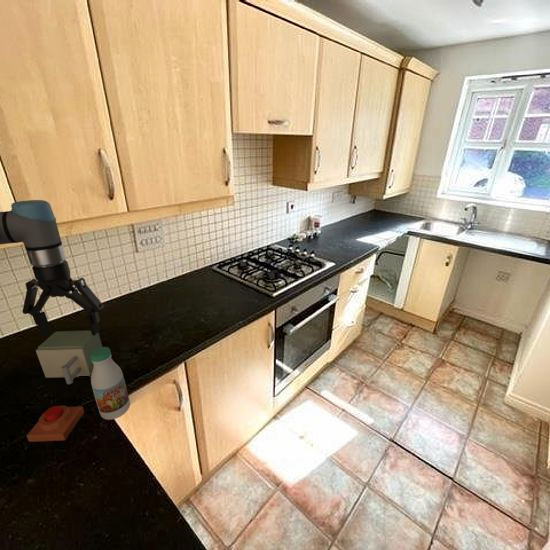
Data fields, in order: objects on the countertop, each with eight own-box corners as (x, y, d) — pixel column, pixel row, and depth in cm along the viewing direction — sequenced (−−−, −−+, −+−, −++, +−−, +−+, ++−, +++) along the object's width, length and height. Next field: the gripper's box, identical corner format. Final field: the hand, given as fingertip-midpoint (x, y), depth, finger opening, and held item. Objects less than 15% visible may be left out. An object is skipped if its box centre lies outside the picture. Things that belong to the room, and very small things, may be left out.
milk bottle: (94, 416, 84) (75, 356, 76) (116, 396, 90) (101, 340, 83) (114, 424, 81) (97, 363, 73) (136, 403, 88) (122, 346, 80)
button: (42, 422, 77) (40, 417, 77) (51, 411, 81) (49, 406, 80) (57, 421, 78) (55, 416, 77) (65, 410, 81) (63, 405, 80)
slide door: (31, 392, 91) (20, 363, 87) (47, 376, 97) (37, 349, 93) (78, 390, 91) (69, 362, 87) (91, 374, 98) (83, 347, 94)
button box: (28, 441, 76) (23, 430, 75) (51, 413, 85) (47, 402, 83) (65, 440, 77) (60, 428, 75) (84, 412, 85) (80, 401, 83)
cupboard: (48, 378, 98) (37, 347, 94) (65, 360, 106) (55, 331, 102) (92, 376, 99) (83, 345, 94) (105, 359, 107) (97, 330, 102)
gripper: (106, 256, 81) (122, 325, 88) (10, 258, 80) (35, 327, 88) (91, 266, 74) (110, 339, 82) (-14, 269, 73) (16, 342, 81)
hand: (71, 333), depth 85 cm, fingers open, 13 cm apart
